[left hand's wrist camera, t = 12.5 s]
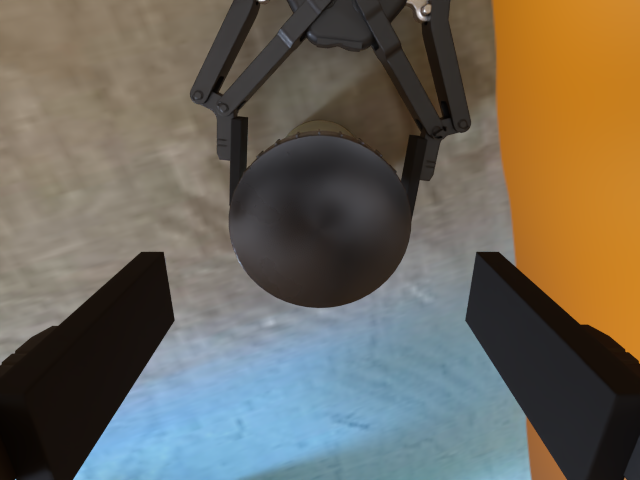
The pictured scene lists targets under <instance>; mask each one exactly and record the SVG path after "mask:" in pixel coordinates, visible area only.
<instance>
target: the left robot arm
mask: <svg viewBox="0 0 640 480" xmlns="http://www.w3.org/2000/svg"><path fill="white" fill-rule="evenodd" d="M174 321H175V320H174V313H173V307H172V301H171V295H170V289H169V282H168V276H167V270H166V264H165V258H164V252H141V253H140V254H138V255H137V256H136V257H135V258H134V259H133V260H132V261H131V262H129V263H128V264H127V265H126V266H125V267H124V268H123V269H122V270H120V271H119V272H118V273H117V274H116V275H115V276H114V277H113V278H112V279H110V280H109V281H108V282H107V283H106V284H105V285H104V286H103V287H101V288H100V289H99V290H98V291H97V292H96V293H95V294H94V295H92V296H91V297H90V298H89V299H88V300H87V301H86V302H85V303H83V304H82V305H81V306H80V307H79V308H78V309H77V310H76V311H74V312H73V313H72V314H71V315H70V316H69V317H68V318H67V319H65V320H64V321H63V322H62V323H61V324H60V325H59V326H51V327H50V328H48V329H46V330H44V331H42V332H40V333H39V334H37V335H35V336H33V337H31V338H30V339H29V340H28V341H26V342H25V343H24V344H23V345H22V346H21V347H19V348H18V349H17V350H16V351H15V354H11V355H10V356H9V357H8V358H6V359H5V360H4V361H3V362H2V365H0V480H15V479H16V480H73V479H74V477H75V476H76V474H77V472H78V471H79V469H80V468H81V466H82V465H83V463H84V461H85V460H86V458H87V457H88V455H89V454H90V452H91V450H92V449H93V447H94V446H95V444H96V443H97V441H98V440H99V438H100V436H101V435H102V433H103V432H104V430H105V429H106V427H107V425H108V424H109V422H110V421H111V419H112V418H113V416H114V414H115V413H116V411H117V410H118V408H119V407H120V405H121V404H122V402H123V400H124V399H125V397H126V396H127V394H128V393H129V391H130V389H131V388H132V386H133V385H134V383H135V382H136V380H137V378H138V377H139V375H140V374H141V372H142V371H143V369H144V368H145V366H146V364H147V363H148V361H149V360H150V358H151V357H152V355H153V353H154V352H155V350H156V349H157V347H158V346H159V344H160V342H161V341H162V339H163V338H164V336H165V335H166V333H167V332H168V330H169V328H170V327H171V325H172V324H173V322H174ZM465 321H466V322H467V324H468V325H469V327H470V328H471V330H472V332H473V333H474V335H475V336H476V338H477V339H478V341H479V342H480V344H481V346H482V347H483V349H484V350H485V352H486V353H487V355H488V357H489V358H490V360H491V361H492V363H493V364H494V366H495V368H496V369H497V371H498V372H499V374H500V375H501V377H502V378H503V380H504V382H505V383H506V385H507V386H508V388H509V389H510V391H511V393H512V394H513V396H514V397H515V399H516V400H517V402H518V404H519V405H520V407H521V408H522V410H523V411H524V413H525V414H526V416H527V418H528V419H529V421H530V422H531V424H532V425H533V427H534V429H535V430H536V432H537V433H538V435H539V436H540V438H541V440H542V441H543V443H544V444H545V446H546V447H547V449H548V450H549V452H550V454H551V455H552V457H553V458H554V460H555V461H556V463H557V465H558V466H559V468H560V469H561V471H562V472H563V474H564V476H565V477H566V479H567V480H624V478H626V479H627V480H640V364H639V361H638V360H637V359H636V358H634V357H633V356H632V355H631V354H630V353H628V352H625V349H624V348H623V347H622V346H620V345H619V344H618V343H617V342H616V341H614V340H613V339H612V338H611V337H610V336H608V335H606V334H604V333H602V332H601V331H599V330H597V329H595V328H593V327H591V326H589V325H580V324H579V323H578V322H577V321H576V320H574V319H573V318H572V317H571V316H570V315H569V314H568V313H567V312H566V311H564V310H563V309H562V308H561V307H560V306H559V305H558V304H557V303H555V302H554V301H553V300H552V299H551V298H550V297H549V296H548V295H546V294H545V293H544V292H543V291H542V290H541V289H540V288H539V287H537V286H536V285H535V284H534V283H533V282H532V281H531V280H530V279H528V278H527V277H526V276H525V275H524V274H523V273H522V272H521V271H519V270H518V269H517V268H516V267H515V266H514V265H513V264H512V263H511V262H509V261H508V260H507V259H506V258H505V257H504V256H503V255H502V254H500V253H499V252H476V258H475V264H474V270H473V276H472V282H471V289H470V295H469V301H468V307H467V313H466V320H465Z"/></svg>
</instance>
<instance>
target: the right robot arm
mask: <svg viewBox="0 0 640 480" xmlns="http://www.w3.org/2000/svg"><path fill="white" fill-rule="evenodd" d="M269 1H270V0H234V1H233V3H232V5H231V7H230V9H229V11H228V13H227V15H226V18H225V20H224V22H223V24H222V26H221V28H220V30H219V32H218V34H217V36H216V38H215V41H214V43H213V45H212V47H211V49H210V51H209V53H208V55H207V57H206V59H205V62H204V64H203V66H202V68H201V70H200V72H199V74H198V76H197V78H196V80H195V83H194V85H193V87H192V89H191V91H190V97H191V99H192V101H193V102H194V103H196V104H200V105H202V106H204V107H206V108H209V109H210V110H212V111H213V112H214V113H215V115H216V117H217V154H218V157H219V159H220V160H230V204H231V201H232V197H233V194H234V190H235V189H236V187H237V185H238V182H239V181H240V179H241V178H242V176H243V172H244V171H245V170H246V167H247V137H248V117H240V116H238V117H237V113H238V111H239V110H240V109H241V108H242V106H243V105H244V104H245V103H246V102H247V101H248V100H249V99H250V98H251V97H252V96H253V94H254V93H255V92H256V91H257V90H258V89H259V88H260V87H261V86H262V85H263V84H264V82H265V81H266V80H267V79H268V78H269V77H270V76H271V75H272V74H273V73H274V71H275V70H276V69H277V68H278V67H279V66H280V65H281V64H282V63H283V62H284V61H285V59H286V58H287V57H288V56H289V55H290V54H291V53H292V52H293V51H294V50H295V49H296V48H297V47H298V46H299V45H300V44H301V43H302V42H303V41H304V40H305V39H306V38H307V39H308V40H309V41H310V42H311V43H313V44H314V45H316V46H317V47H321V48H331V47H337V46H339V47H341V48H343V49H346V50H348V51H355V52H359V51H361V50H364V49H366V48H368V47H370V46H371V47H372V49H373V51H374V52H375V54H376V56H377V58H378V59H379V60H380V61H381V63H382V64H383V66H384V68H385V70H386V71H387V73H388V75H389V77H390V78H391V80H392V82H393V84H394V85H395V87H396V89H397V91H398V92H399V94H400V96H401V98H402V99H403V101H404V103H405V105H406V107H407V108H408V110H409V112H410V114H411V115H412V117H413V119H414V121H415V122H416V124H417V126H418V128H419V129H420V131H421V135H420V136H416V135H409V141H408V146H407V151H406V157H405V162H404V168H403V173H402V179H401V183H402V184H403V186H404V188H405V189H406V194H407V196H408V201H409V205H410V210H411V221H412V216H413V211H414V206H415V201H416V196H417V191H418V186H419V181H420V180H424V181H430V179H431V178H432V176H433V174H434V169H435V164H436V159H437V155H438V150H439V145H440V142H441V140H442V139H444V138H445V137H446V136H447V135H451V134H455V133H459V132H460V133H463V132H466V131H467V130H468V129H469V128H470V126H471V120H470V115H469V111H468V106H467V102H466V97H465V93H464V88H463V84H462V79H461V75H460V70H459V66H458V61H457V57H456V52H455V48H454V43H453V39H452V34H451V30H450V25H449V21H448V18H449V8H450V0H287V2H288V3H289V5H290V7H291V9H292V11H293V13H294V14H293V15H292V16H291V17H290V18H289V19H288V20H287V21H286V23H285V24H284V25H283V26H282V27H281V29H280V30H279V32H278V33H277V35H276V36H275V37H274V38H273V39H272V40H271V42H270V43H269V44H268V45H267V46H266V47H265V48H264V49H263V51H262V52H261V53H260V54H259V55H258V56H257V57H256V58H255V60H254V61H253V62H252V63H251V64H250V65H249V66H248V67H247V69H246V70H245V71H244V72H243V73H242V74H241V75H240V76H239V78H238V79H237V80H236V81H235V82H234V83H233V84H232V86H231V87H230V88H229V89H228V90H227V91H226V92H225V93H224V95H223V94H221V93H219V90H220V88H221V86H222V84H223V82H224V80H225V78H226V76H227V74H228V72H229V70H230V68H231V66H232V64H233V62H234V60H235V58H236V57H237V55H238V53H239V51H240V49H241V47H242V45H243V43H244V41H245V39H246V37H247V35H248V33H249V31H250V29H251V27H252V25H253V23H254V21H255V18H256V16H257V14H258V11H259V8H260V4H267V3H269ZM404 6H408V7H410V8H411V10H412V12H413V16H414V19H415V21H416V22H418V23H422V34H423V40H424V44H425V48H426V52H427V56H428V60H429V64H430V68H431V72H432V76H433V80H434V84H435V88H436V92H437V96H438V100H439V104H440V108H441V112H442V117H441V118H439V116H438V114H437V112H436V111H435V109H434V107H433V105H432V103H431V101H430V99H429V98H428V96H427V94H426V92H425V90H424V88H423V87H422V85H421V83H420V81H419V79H418V77H417V76H416V74H415V72H414V70H413V68H412V66H411V65H410V63H409V61H408V59H407V57H406V55H405V53H404V52H403V50H402V47H401V43H400V41H399V39H398V37H397V35H396V33H395V31H394V30H393V28H392V26H391V24H390V23H391V22H392V21H393V20H394V18H395V17H396V16H397V15H398V14H399V12H400V11H401V10H402V9H403V8H404Z"/></svg>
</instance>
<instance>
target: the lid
mask: <svg viewBox="0 0 640 480" xmlns="http://www.w3.org/2000/svg"><path fill="white" fill-rule="evenodd" d="M229 232H230V239H231V242H232V246H233V249H234V251H235V254H236V256H237V258H238V260H239V262H240V264H241V265H242V267H243V269H244V270H245V271H246V272H247V274H248V275H249V276H250V277H251V278H252V279H253V280H254V281H255V282H256V283H257V284H258V285H259V286H260V287H261V288H263V289H264V290H265V291H267V292H268V293H270V294H272V295H273V296H275V297H277V298H279V299H281V300H283V301H286V302H289V303H292V304H295V305H299V306H304V307H313V308H328V307H335V306H341V305H345V304H348V303H352V302H354V301H357V300H359V299H361V298H363V297H365V296H367V295H369V294H370V293H372V292H373V291H375V290H376V289H377V288H379V287H380V286H381V285H382V284H383V283H384V282H386V281H387V280H388V278H389V277H390V276H391V275H392V274H393V273H394V271H395V270H396V268H397V267H398V265H399V264H400V262H401V260H402V258H403V256H404V254H405V252H406V249H407V246H408V243H409V238H410V232H411V210H410V205H409V201H408V196H407V194H406V189H405V188H404V186H403V184H402V183H401V181H400V179H399V177H398V176H397V174H396V170H395V169H394V168H393V167H392V166H391V165H389V164H388V163H387V162H386V161H385V160H384V159H383V158H382V155H381V154H380V153H379V152H378V151H377V150H374V149H372V148H371V147H370V146H368V145H367V144H365V143H364V142H363V141H362V140H361V139H360V138H359V139H356V138H354V137H351V136H349V135H346V134H342V132H341V131H339V133H338V132H333V131H322V130H321V131H320V129H318V131H307V132H302V133H300V132H297V133H296V134H295V135H292V136H288V137H286V138H284V139H282V140H280V139H278V140H277V141H276V143H275V144H273V145H272V146H270V147H269V148H268V149H266V150H265V151H262V152H261V153H260V154H259V155H258V156H257V159H256V160H255V161H254V162H253V163H252V164H251V165H250V166H249V167H248V168H247V169H246V170H245V171H244V172H243V176H242V178H241V179H240V181H239V182H238V185H237V187H236V189H235V190H234V194H233V197H232V201H231V204H230V211H229Z"/></svg>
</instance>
